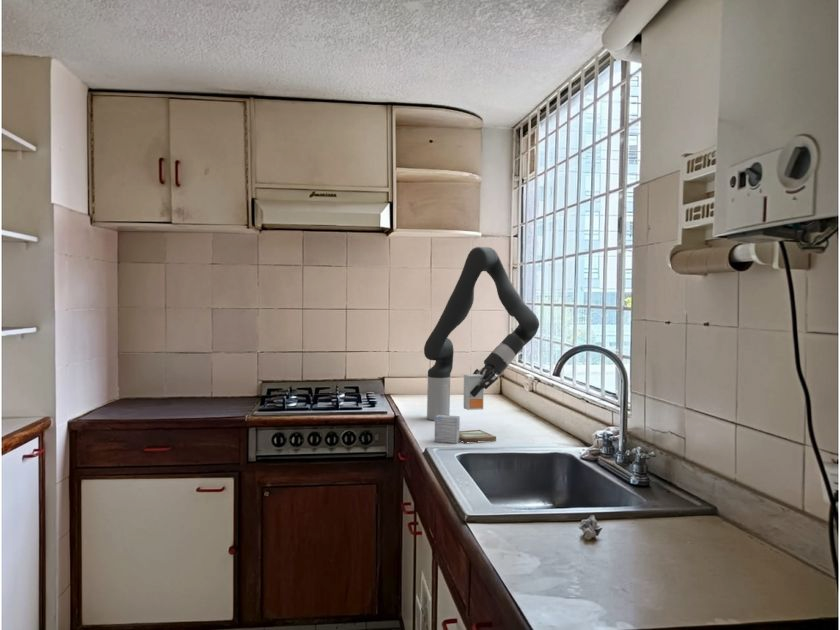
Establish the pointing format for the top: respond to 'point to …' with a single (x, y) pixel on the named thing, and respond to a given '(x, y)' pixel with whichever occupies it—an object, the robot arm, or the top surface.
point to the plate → (475, 436)
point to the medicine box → (447, 428)
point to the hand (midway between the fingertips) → (469, 394)
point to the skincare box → (469, 385)
